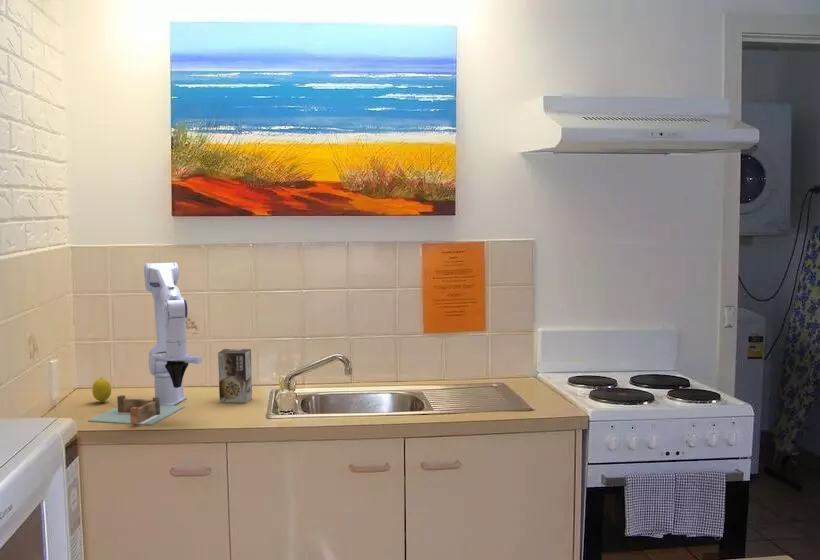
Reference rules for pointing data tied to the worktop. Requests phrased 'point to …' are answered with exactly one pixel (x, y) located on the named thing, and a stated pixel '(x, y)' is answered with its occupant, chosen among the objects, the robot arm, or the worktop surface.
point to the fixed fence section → (135, 404)
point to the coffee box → (235, 375)
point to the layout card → (124, 418)
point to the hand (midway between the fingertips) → (177, 386)
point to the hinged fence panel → (142, 412)
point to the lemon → (101, 390)
